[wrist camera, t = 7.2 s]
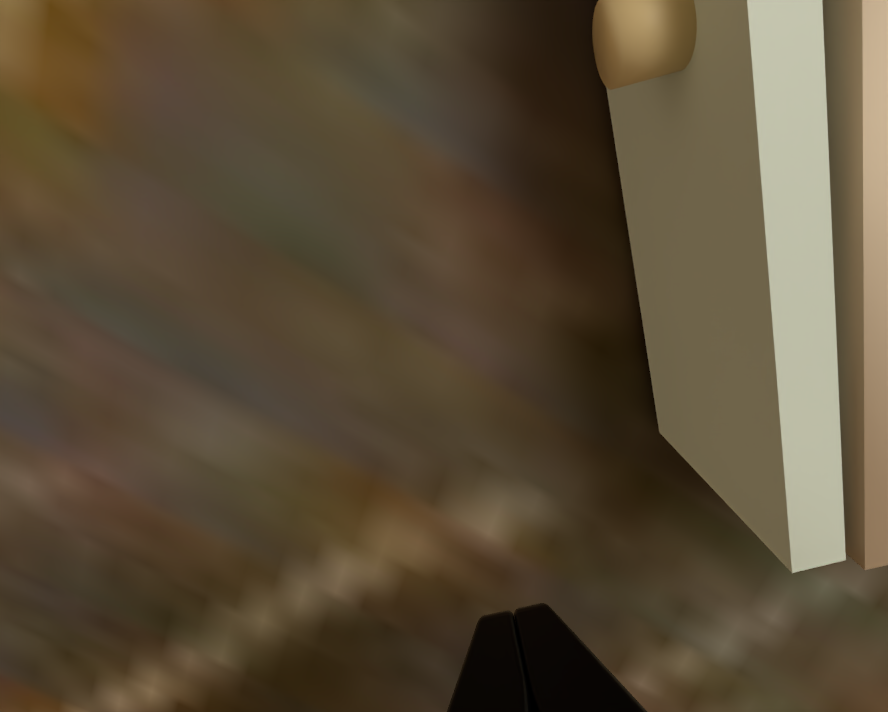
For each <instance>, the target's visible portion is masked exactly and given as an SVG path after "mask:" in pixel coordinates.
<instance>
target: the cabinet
mask: <svg viewBox="0 0 888 712" xmlns="http://www.w3.org/2000/svg"><path fill="white" fill-rule="evenodd" d="M822 5H823V29H824V53H825V76H826V100H827V124H828V148H829V172H830V195H831V219H832V243H833V267H834V291H835V315H836V338H837V362H838V386H839V410H840V434H841V457H842V481H843V505H844V529H845V553H846V554H847V555H848V556H850V557H851V558H852V559H853V560H854V561H855V562H856V563H858V564H859V565H860V566H861V567H862V568H863V569H864V570H867V569H872V568H876V567H881V566H885V565H888V0H822Z"/></svg>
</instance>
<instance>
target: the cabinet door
mask: <svg viewBox="0 0 888 712" xmlns="http://www.w3.org/2000/svg"><path fill="white" fill-rule="evenodd" d="M592 38H593V49H594V56H595V61H596V65H597V69H598V72H599V75H600V78H601V80H602V82H603V83H604V85H605V86H606V89H607V95H608V102H609V108H610V115H611V121H612V128H613V134H614V141H615V147H616V154H617V160H618V167H619V173H620V180H621V186H622V193H623V199H624V206H625V212H626V219H627V225H628V232H629V238H630V245H631V251H632V258H633V264H634V271H635V277H636V284H637V290H638V297H639V303H640V310H641V317H642V323H643V330H644V336H645V343H646V349H647V356H648V362H649V369H650V375H651V382H652V388H653V395H654V401H655V408H656V414H657V421H658V427H659V433H660V434H661V435H662V436H663V437H664V438H665V439H666V440H667V441H668V442H669V443H670V444H671V445H672V446H673V447H674V449H675V450H676V451H677V452H678V453H679V454H680V455H681V456H682V457H683V458H684V459H685V460H686V461H687V462H688V463H689V464H690V465H691V467H692V468H693V469H694V470H695V471H696V472H697V473H698V474H699V475H700V476H701V477H702V478H703V479H704V480H705V481H706V482H707V483H708V485H709V486H710V487H711V488H712V489H713V490H714V491H715V492H716V493H717V494H718V495H719V496H720V497H721V498H722V499H723V500H724V501H725V503H726V504H727V505H728V506H729V507H730V508H731V509H732V510H733V511H734V512H735V513H736V514H737V515H738V516H739V517H740V518H741V519H742V521H743V522H744V523H745V524H746V525H747V526H748V527H749V528H750V529H751V530H752V531H753V532H754V533H755V534H756V535H757V536H758V537H759V538H760V540H761V541H762V542H763V543H764V544H765V545H766V546H767V547H768V548H769V549H770V550H771V551H772V552H773V553H774V554H775V555H776V556H777V558H778V559H779V560H780V561H781V562H782V563H783V564H784V565H785V566H786V567H787V568H788V569H789V570H790V571H791V572H792V573H794V572H798V571H803V570H807V569H811V568H815V567H819V566H823V565H827V564H831V563H836V562H840V561H844V560H846V553H845V529H844V505H843V481H842V457H841V434H840V410H839V386H838V362H837V338H836V315H835V291H834V267H833V243H832V219H831V195H830V172H829V148H828V124H827V100H826V76H825V53H824V29H823V5H822V0H598V2H597V4H596V6H595V10H594V15H593V25H592Z"/></svg>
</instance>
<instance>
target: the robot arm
mask: <svg viewBox="0 0 888 712" xmlns="http://www.w3.org/2000/svg"><path fill="white" fill-rule="evenodd" d="M514 617H515V619H514ZM515 622H516V623H515ZM447 712H647V711H646V710H645V709H644V708H643V707H642V706H641V705H640V703H639V702H638V701H637V700H636V699H635V698H634V697H633V696H632V695H631V694H630V693H629V692H628V691H627V689H626V688H625V687H624V686H623V685H622V684H621V683H620V682H619V681H618V680H617V679H616V678H615V676H614V675H613V674H612V673H611V672H610V671H609V670H608V669H607V668H606V667H605V666H604V665H603V664H602V662H601V661H600V660H599V659H598V658H597V657H596V656H595V655H594V654H593V653H592V652H591V651H590V650H589V648H588V647H587V646H586V645H585V644H584V643H583V642H582V641H581V640H580V639H579V638H578V637H577V636H576V634H575V633H574V632H573V631H572V630H571V629H570V628H569V627H568V626H567V625H566V624H565V623H564V622H563V620H562V619H561V618H560V617H559V616H558V615H557V614H556V613H555V612H554V611H553V610H552V609H551V608H550V607H549V606H548V605H547V604H544V603H540V604H535V605H531V606H526V607H521V608H518V609H516V610H515V612H514V615H513V613H512V612H510V611H503V612H498V613H493V614H489V615H484V616H482V617H481V618H480V619H479V620H478V623H477V625H476V628H475V631H474V634H473V637H472V640H471V643H470V646H469V649H468V652H467V655H466V657H465V660H464V663H463V666H462V669H461V672H460V675H459V678H458V681H457V684H456V687H455V690H454V693H453V695H452V698H451V701H450V704H449V707H448V710H447Z"/></svg>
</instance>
